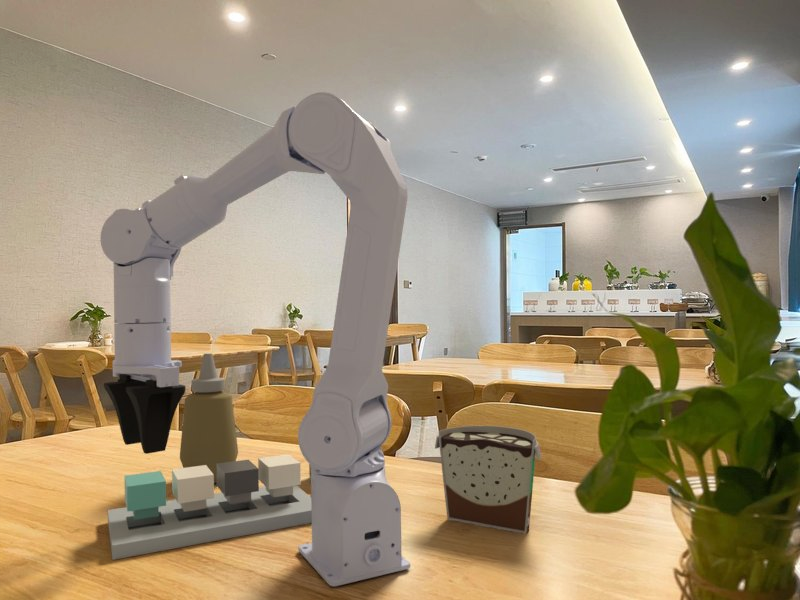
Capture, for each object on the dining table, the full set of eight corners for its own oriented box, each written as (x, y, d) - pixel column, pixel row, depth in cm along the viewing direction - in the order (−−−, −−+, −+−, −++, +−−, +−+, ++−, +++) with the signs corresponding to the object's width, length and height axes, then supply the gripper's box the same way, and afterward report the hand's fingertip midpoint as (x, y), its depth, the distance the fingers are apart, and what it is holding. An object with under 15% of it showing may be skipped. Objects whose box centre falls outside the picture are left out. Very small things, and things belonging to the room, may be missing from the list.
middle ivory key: (214, 508, 68) (213, 474, 68) (178, 514, 66) (177, 479, 66) (206, 497, 72) (206, 465, 72) (172, 502, 70) (172, 469, 70)
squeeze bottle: (167, 486, 84) (166, 356, 85) (200, 470, 92) (198, 351, 92) (220, 489, 82) (218, 356, 83) (248, 473, 90) (247, 351, 90)
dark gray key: (258, 501, 70) (258, 468, 70) (225, 507, 68) (224, 473, 68) (248, 490, 74) (248, 459, 74) (216, 495, 73) (216, 463, 73)
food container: (556, 518, 70) (555, 430, 70) (540, 536, 64) (538, 441, 64) (458, 502, 76) (457, 421, 76) (435, 517, 71) (434, 430, 71)
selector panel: (324, 520, 70) (324, 508, 70) (112, 559, 60) (112, 545, 60) (292, 492, 81) (292, 481, 81) (108, 522, 70) (107, 509, 71)
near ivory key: (300, 494, 72) (300, 462, 72) (269, 500, 71) (268, 467, 71) (288, 484, 77) (288, 454, 77) (258, 489, 75) (258, 458, 75)
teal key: (166, 516, 66) (165, 481, 66) (127, 523, 64) (127, 486, 64) (161, 504, 70) (160, 470, 70) (124, 509, 68) (124, 475, 68)
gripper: (206, 322, 64) (208, 451, 64) (154, 321, 75) (156, 432, 75) (137, 324, 60) (139, 464, 59) (92, 323, 70) (94, 441, 70)
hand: (144, 447), depth 67 cm, fingers open, 5 cm apart
